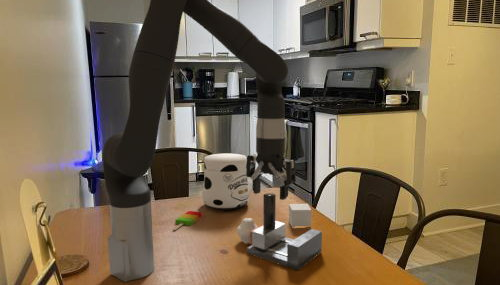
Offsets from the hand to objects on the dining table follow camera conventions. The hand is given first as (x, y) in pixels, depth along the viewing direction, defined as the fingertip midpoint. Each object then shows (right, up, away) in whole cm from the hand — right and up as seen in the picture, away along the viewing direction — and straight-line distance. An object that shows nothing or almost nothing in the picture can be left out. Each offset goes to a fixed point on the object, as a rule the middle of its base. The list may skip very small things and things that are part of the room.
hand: (269, 196), depth 101 cm
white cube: (+10, -12, +20) cm, 25 cm away
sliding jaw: (0, -13, +3) cm, 13 cm away
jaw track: (+4, -15, 0) cm, 15 cm away
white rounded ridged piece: (-6, -14, +7) cm, 17 cm away
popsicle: (-26, -12, +22) cm, 36 cm away
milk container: (-14, -9, +39) cm, 42 cm away
